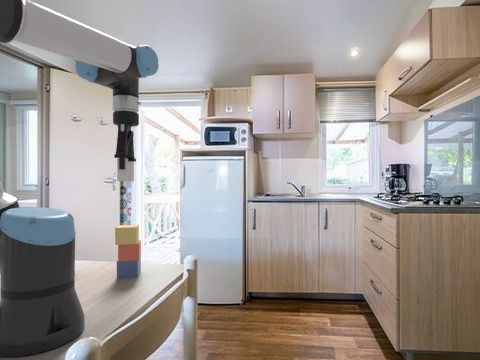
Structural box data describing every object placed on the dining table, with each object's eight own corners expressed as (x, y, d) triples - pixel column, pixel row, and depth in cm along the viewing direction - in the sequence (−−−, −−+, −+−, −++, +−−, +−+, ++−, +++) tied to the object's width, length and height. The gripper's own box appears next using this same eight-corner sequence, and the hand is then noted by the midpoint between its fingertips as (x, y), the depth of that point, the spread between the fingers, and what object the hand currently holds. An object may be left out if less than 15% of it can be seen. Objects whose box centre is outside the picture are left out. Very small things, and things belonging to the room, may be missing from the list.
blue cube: (137, 277, 95) (137, 260, 95) (116, 278, 94) (116, 261, 94) (140, 271, 101) (140, 256, 101) (121, 272, 100) (120, 256, 100)
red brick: (139, 260, 96) (139, 243, 96) (118, 261, 94) (118, 244, 94) (140, 255, 102) (140, 240, 102) (121, 256, 100) (121, 241, 100)
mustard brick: (136, 243, 95) (136, 227, 96) (115, 244, 94) (115, 227, 94) (138, 240, 101) (138, 224, 101) (118, 241, 100) (118, 225, 100)
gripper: (133, 102, 86) (133, 181, 86) (142, 120, 111) (143, 181, 110) (104, 101, 85) (104, 181, 85) (120, 119, 109) (120, 181, 109)
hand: (126, 181), depth 98 cm, fingers open, 13 cm apart
